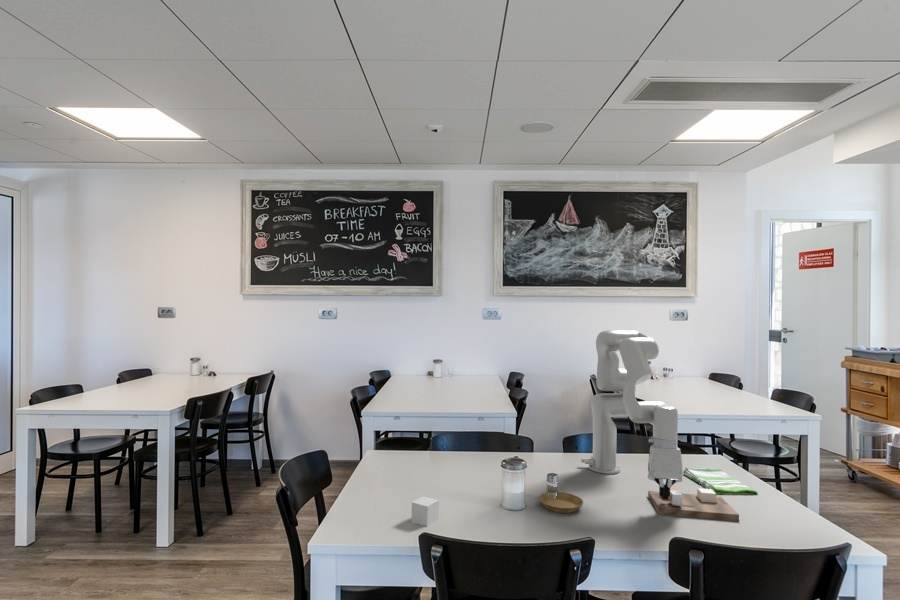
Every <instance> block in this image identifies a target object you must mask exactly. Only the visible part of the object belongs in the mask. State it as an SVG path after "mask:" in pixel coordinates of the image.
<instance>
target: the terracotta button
mask: <svg viewBox="0 0 900 600" xmlns="http://www.w3.org/2000/svg"><path fill="white" fill-rule="evenodd" d="M670 490H675V491H679V489H677V487H676V486H675V485H672V486H671V488H670ZM668 499H669V497H668Z"/></svg>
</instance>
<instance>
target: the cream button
mask: <svg viewBox="0 0 900 600" xmlns="http://www.w3.org/2000/svg"><path fill="white" fill-rule="evenodd" d="M696 495H697V497H698V498H699V499H700V501H701V502H712V503H716V496H717V494H716V493H715V492H714V491H713V490H712V489H705V488H704V487H702V488H700V487H699V488H698V487H697V488H696Z"/></svg>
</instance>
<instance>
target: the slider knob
mask: <svg viewBox="0 0 900 600" xmlns="http://www.w3.org/2000/svg"><path fill="white" fill-rule="evenodd" d="M669 501H670V503H671V504H672V505H674V506H682V494H681V491H680V490H678V491H675V490H670V497H669Z"/></svg>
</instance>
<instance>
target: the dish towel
mask: <svg viewBox="0 0 900 600" xmlns="http://www.w3.org/2000/svg"><path fill="white" fill-rule="evenodd" d="M683 475H685V476H686V477H688V479H690V480H692V479H693V480H694V481H693V480H692V481H693V482H695V481H696V482H695V483H697V482H698V483H699V484H698V483H697V484H698V485H700V484H701V485H702V486H703V487H702V486H701V485H700V486H701V487H702V488H704V487H705V488H707V489H712V490H713V491H714V492H715V493H716V495H745V494H755V495H757V496H758V495H759V493H758V491H756V490H754V489H752V488H751V487H750V486H747V485H745V484H744V483H742V482H740V481H739V480H737V479H735V478H734V477H731V476H730V475H729V474H727V473H726V472H725V471H723V470H722V469H721V468H720V469H719V468H699V467H697V468H696V467H694V468H693V467H689V466H686V467H685V469H684V470H683ZM705 488H704V489H705Z"/></svg>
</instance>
